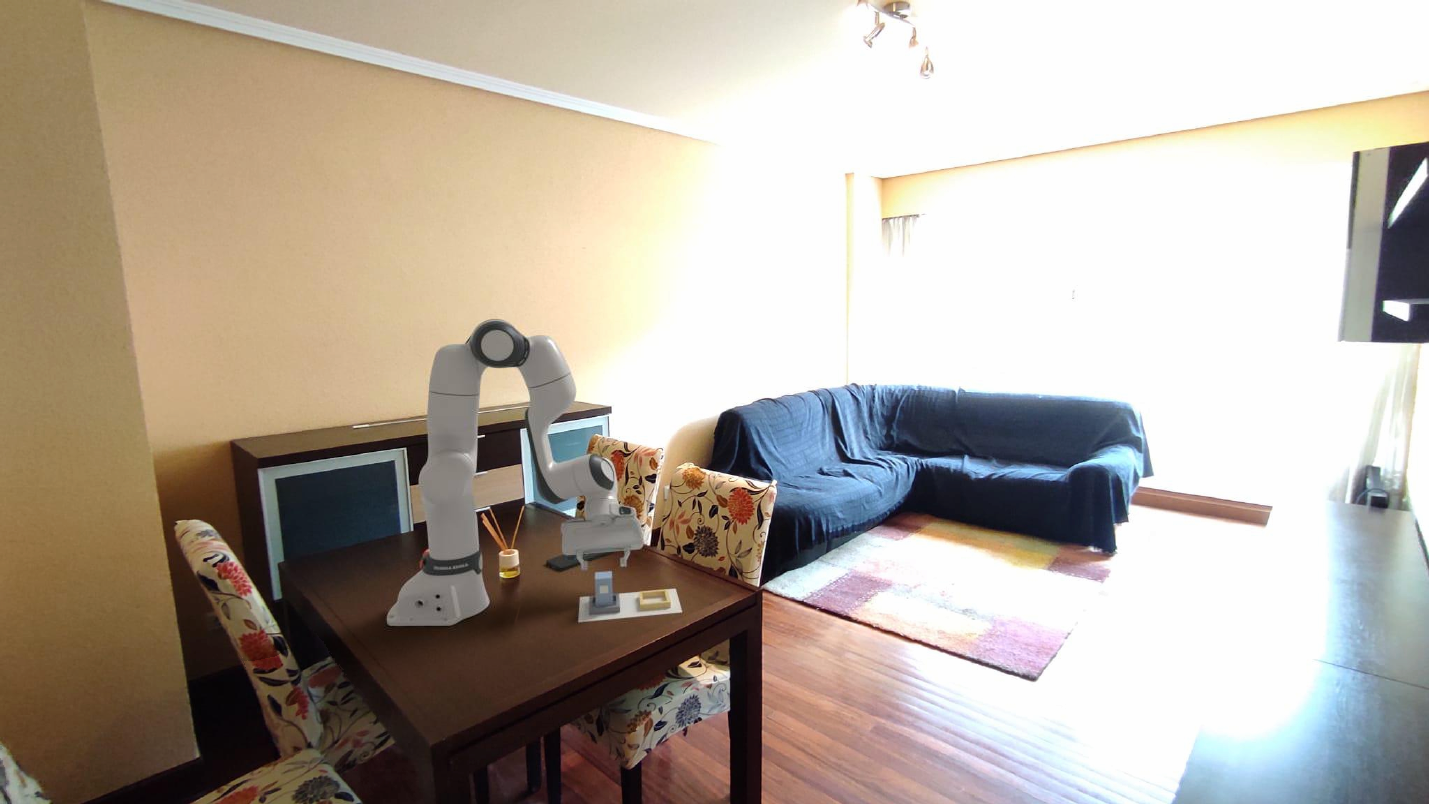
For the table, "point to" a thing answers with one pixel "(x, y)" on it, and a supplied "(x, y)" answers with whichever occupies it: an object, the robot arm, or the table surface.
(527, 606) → the table surface
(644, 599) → the white board with frames
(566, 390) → the robot arm
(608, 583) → the plug
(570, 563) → the smart home device
